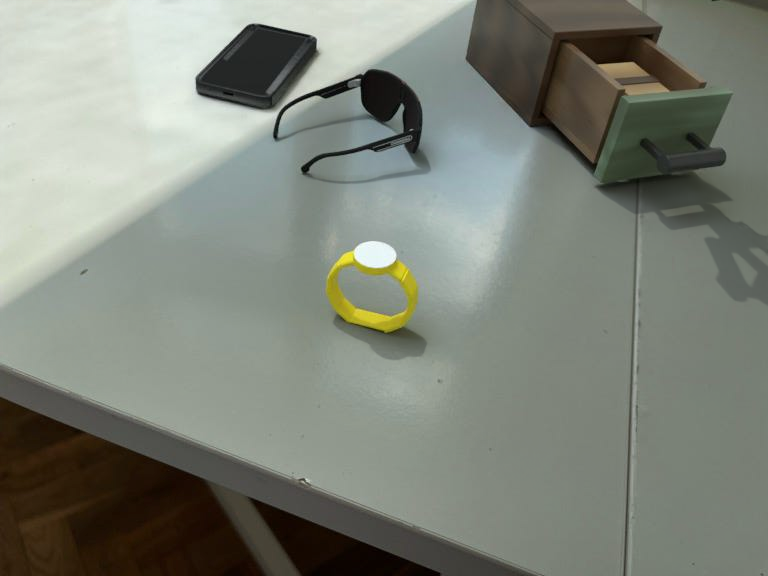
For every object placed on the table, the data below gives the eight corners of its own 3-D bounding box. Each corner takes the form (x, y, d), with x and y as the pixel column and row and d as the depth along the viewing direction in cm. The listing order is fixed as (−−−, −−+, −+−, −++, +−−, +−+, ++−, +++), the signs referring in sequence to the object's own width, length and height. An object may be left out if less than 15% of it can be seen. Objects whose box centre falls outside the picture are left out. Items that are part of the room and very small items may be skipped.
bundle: (659, 147, 72) (680, 96, 69) (617, 152, 71) (636, 100, 67) (617, 110, 77) (634, 60, 73) (577, 114, 75) (592, 63, 72)
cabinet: (630, 116, 81) (663, 26, 74) (529, 126, 76) (554, 32, 70) (558, 52, 90) (581, -32, 84) (465, 58, 86) (482, -30, 80)
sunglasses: (435, 159, 70) (438, 110, 66) (315, 201, 65) (311, 152, 62) (376, 103, 76) (376, 56, 72) (263, 138, 72) (257, 90, 68)
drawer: (729, 196, 69) (768, 118, 64) (628, 211, 66) (661, 130, 60) (616, 98, 81) (641, 25, 76) (526, 106, 77) (546, 31, 72)
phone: (319, 37, 83) (270, 99, 72) (319, 47, 84) (270, 110, 73) (249, 21, 84) (190, 80, 73) (249, 31, 85) (190, 91, 74)
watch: (415, 321, 54) (429, 254, 50) (404, 348, 52) (417, 280, 48) (333, 296, 55) (340, 229, 51) (319, 322, 53) (325, 253, 49)
